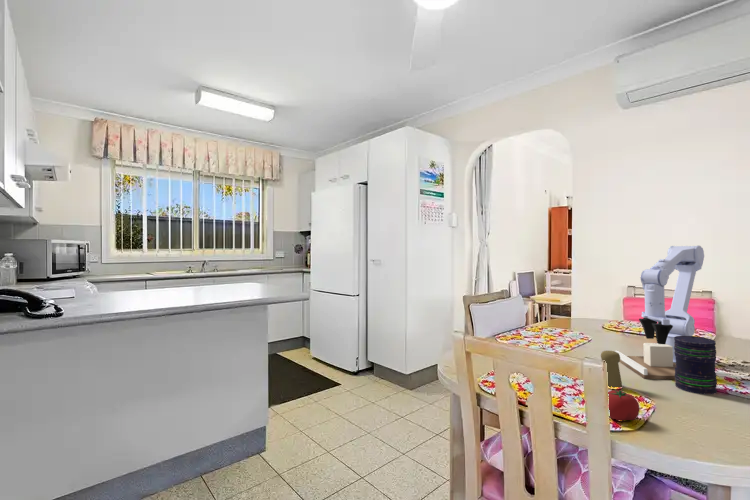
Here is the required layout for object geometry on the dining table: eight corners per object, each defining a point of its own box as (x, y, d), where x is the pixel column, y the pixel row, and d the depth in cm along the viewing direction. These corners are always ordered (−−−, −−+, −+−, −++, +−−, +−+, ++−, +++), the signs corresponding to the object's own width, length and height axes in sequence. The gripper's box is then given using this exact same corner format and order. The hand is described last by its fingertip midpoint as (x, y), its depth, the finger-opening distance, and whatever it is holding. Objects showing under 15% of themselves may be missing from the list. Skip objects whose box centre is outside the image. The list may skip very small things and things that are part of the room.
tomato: (645, 422, 96) (645, 393, 95) (623, 428, 93) (622, 398, 93) (616, 409, 103) (615, 383, 103) (594, 414, 100) (593, 387, 100)
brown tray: (661, 359, 143) (661, 351, 143) (699, 380, 122) (699, 370, 122) (614, 358, 146) (614, 350, 146) (644, 378, 125) (643, 369, 125)
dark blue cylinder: (720, 397, 109) (719, 345, 109) (677, 391, 114) (676, 341, 114) (713, 385, 117) (712, 337, 117) (672, 380, 122) (671, 334, 122)
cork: (619, 383, 121) (618, 349, 121) (625, 390, 115) (624, 354, 115) (598, 382, 123) (597, 348, 123) (602, 388, 117) (601, 353, 117)
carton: (673, 366, 132) (672, 346, 132) (650, 366, 133) (650, 346, 133) (665, 362, 136) (664, 343, 136) (643, 362, 138) (643, 342, 138)
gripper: (632, 300, 143) (633, 336, 143) (652, 306, 129) (653, 346, 129) (653, 299, 141) (654, 336, 142) (676, 306, 127) (677, 346, 127)
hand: (655, 341), depth 135 cm, fingers open, 7 cm apart
